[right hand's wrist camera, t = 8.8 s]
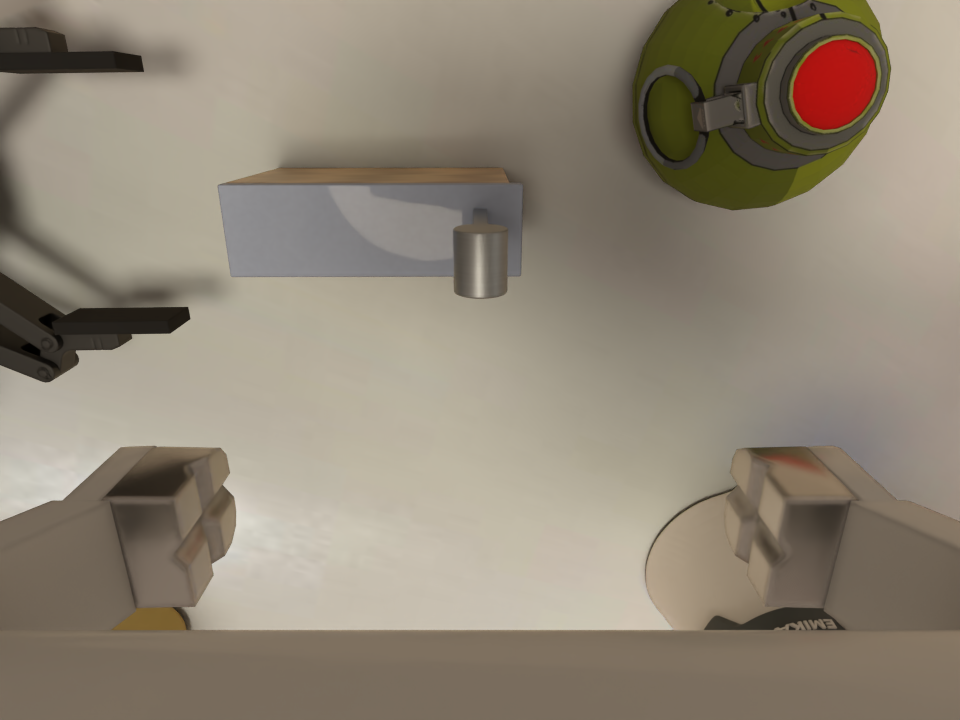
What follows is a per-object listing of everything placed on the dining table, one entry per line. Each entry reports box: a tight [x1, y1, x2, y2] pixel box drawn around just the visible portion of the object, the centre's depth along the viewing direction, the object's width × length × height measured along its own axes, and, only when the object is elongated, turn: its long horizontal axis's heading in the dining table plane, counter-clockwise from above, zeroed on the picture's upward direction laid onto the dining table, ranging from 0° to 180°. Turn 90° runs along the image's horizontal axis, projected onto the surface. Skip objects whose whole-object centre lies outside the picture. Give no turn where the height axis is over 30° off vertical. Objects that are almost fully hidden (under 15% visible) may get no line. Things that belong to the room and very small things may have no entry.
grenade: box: [632, 0, 891, 210], centre depth 32 cm, size 12×12×15 cm
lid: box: [218, 183, 523, 299], centre depth 29 cm, size 15×5×9 cm, turn 90°
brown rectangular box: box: [227, 168, 509, 183], centre depth 37 cm, size 14×5×9 cm, turn 90°
